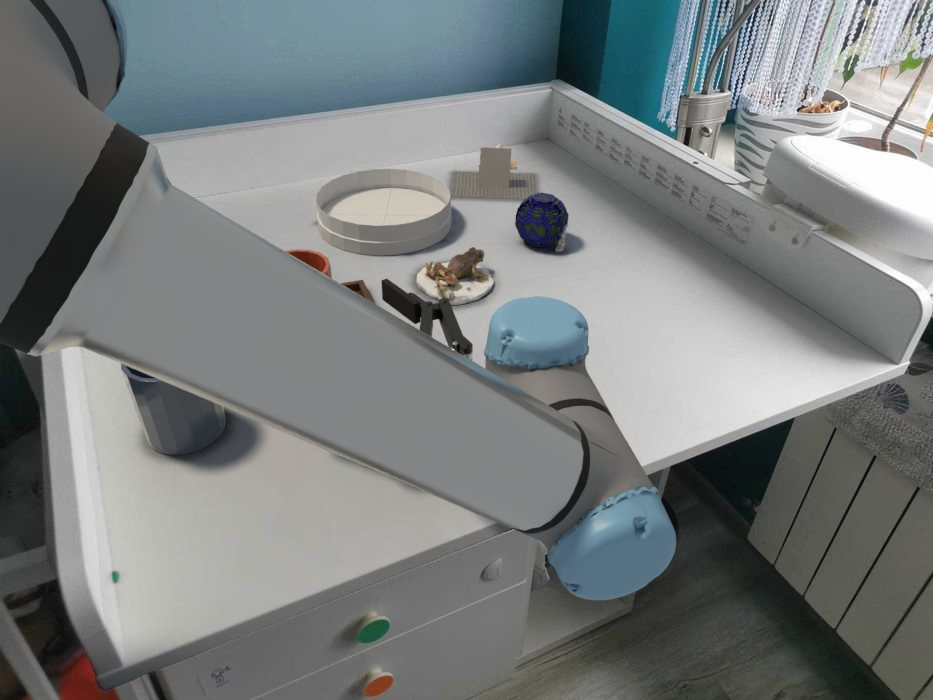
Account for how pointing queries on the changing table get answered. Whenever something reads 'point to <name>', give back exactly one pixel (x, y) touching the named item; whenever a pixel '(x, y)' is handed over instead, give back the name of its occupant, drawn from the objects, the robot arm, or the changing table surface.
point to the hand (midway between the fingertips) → (334, 308)
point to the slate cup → (173, 414)
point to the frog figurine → (456, 278)
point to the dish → (384, 211)
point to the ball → (542, 221)
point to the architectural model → (494, 177)
